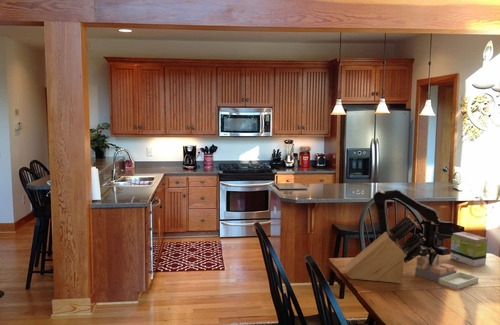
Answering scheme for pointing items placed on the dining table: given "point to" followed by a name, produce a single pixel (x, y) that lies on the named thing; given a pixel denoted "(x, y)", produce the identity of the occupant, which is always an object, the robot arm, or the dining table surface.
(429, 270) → the board
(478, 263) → the tea box
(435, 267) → the tile near
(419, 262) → the strip
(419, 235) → the knife block
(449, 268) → the tile far
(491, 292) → the dining table surface
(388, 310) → the dining table surface
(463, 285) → the tray
